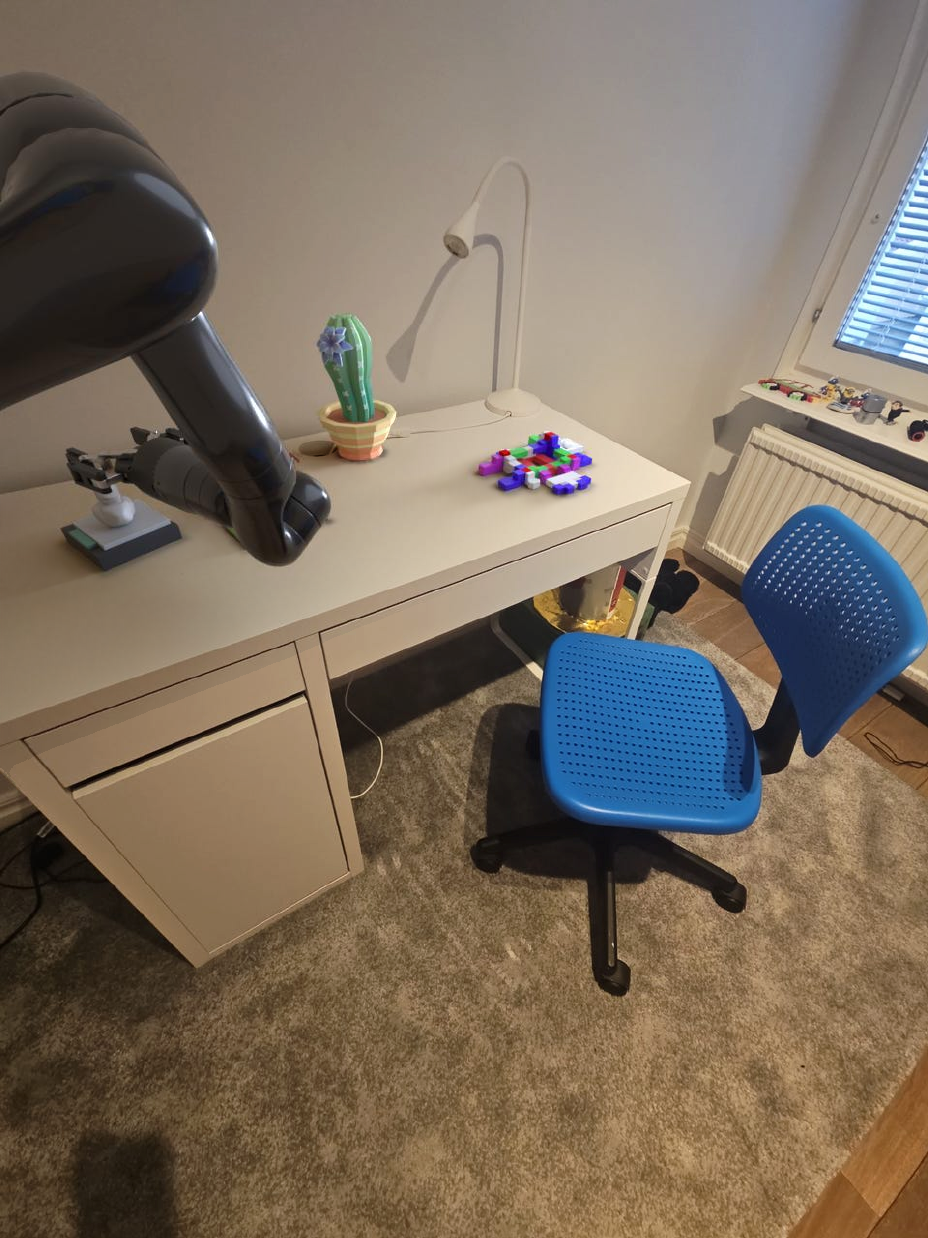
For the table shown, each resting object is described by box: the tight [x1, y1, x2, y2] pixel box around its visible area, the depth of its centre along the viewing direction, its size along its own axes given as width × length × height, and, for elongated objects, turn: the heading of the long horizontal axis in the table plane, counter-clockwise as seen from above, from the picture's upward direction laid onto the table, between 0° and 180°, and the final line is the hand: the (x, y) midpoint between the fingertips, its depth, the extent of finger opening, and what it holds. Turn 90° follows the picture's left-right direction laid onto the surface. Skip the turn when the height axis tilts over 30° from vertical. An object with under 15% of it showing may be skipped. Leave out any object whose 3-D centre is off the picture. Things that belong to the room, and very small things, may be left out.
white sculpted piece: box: [90, 484, 135, 527], centre depth 79 cm, size 5×7×8 cm
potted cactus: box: [315, 312, 397, 461], centre depth 103 cm, size 15×15×25 cm
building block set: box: [477, 430, 593, 496], centre depth 106 cm, size 25×20×4 cm
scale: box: [59, 497, 183, 572], centre depth 83 cm, size 12×12×3 cm
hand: (103, 444), depth 70 cm, fingers open, 8 cm apart
